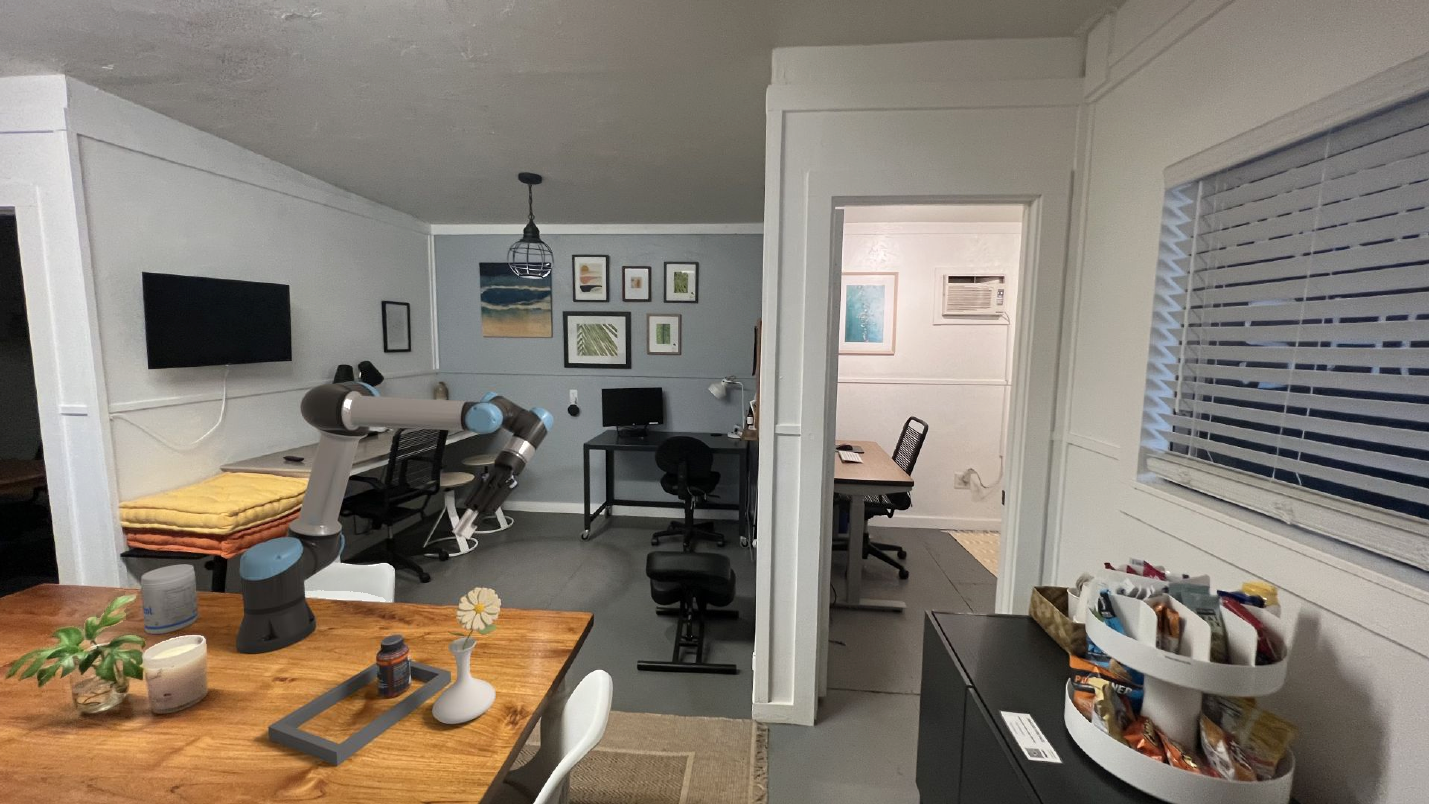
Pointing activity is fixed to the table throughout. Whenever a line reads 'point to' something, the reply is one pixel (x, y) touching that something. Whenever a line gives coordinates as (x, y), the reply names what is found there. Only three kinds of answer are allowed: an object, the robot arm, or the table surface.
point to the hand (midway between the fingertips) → (460, 535)
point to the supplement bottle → (393, 667)
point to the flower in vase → (468, 692)
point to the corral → (338, 753)
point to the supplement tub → (169, 598)
